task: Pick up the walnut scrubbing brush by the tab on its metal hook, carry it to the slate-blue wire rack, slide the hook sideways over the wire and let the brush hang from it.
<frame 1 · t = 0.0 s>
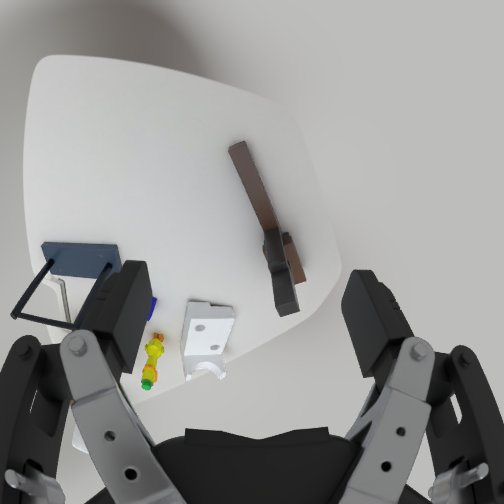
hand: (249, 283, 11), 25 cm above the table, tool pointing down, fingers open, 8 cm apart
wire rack: (81, 258, 39), on the table
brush: (271, 226, 37), on the table
toy figure: (158, 336, 50), on the table
cable holder: (140, 307, 46), on the table
bracket: (208, 327, 49), on the table
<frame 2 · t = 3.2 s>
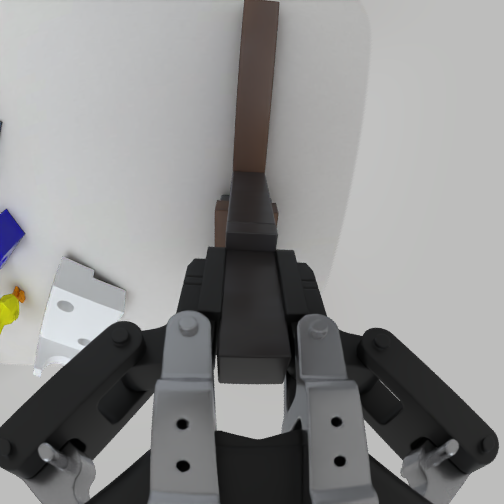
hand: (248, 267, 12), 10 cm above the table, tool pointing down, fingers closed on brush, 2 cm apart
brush: (247, 173, 19), on the table, touching gripper
toy figure: (20, 293, 26), on the table
cable holder: (4, 238, 21), on the table
bracket: (85, 307, 27), on the table
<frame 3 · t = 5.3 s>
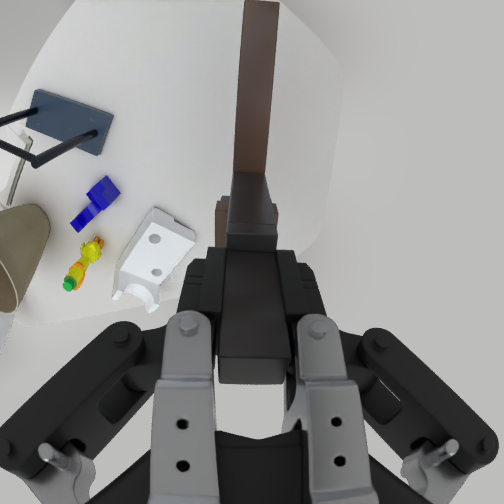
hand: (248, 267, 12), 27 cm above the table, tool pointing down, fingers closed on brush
cup: (15, 291, 48), on the table
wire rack: (67, 119, 30), on the table
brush: (247, 174, 19), point 17 cm above the table, touching gripper
plant pot: (35, 221, 38), on the table
toy figure: (98, 243, 42), on the table
cable holder: (97, 198, 37), on the table
bracket: (157, 248, 43), on the table
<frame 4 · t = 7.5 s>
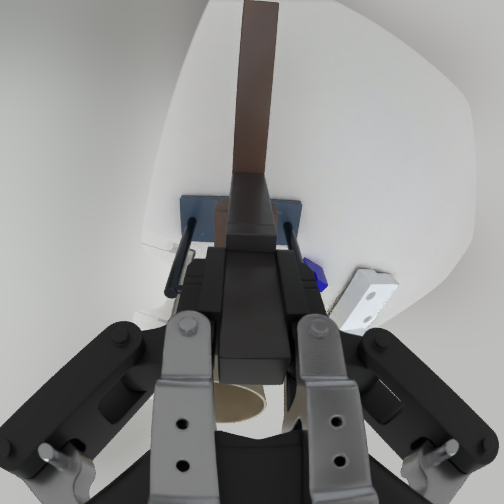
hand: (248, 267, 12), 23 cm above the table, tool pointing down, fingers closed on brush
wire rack: (240, 218, 36), on the table
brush: (247, 174, 19), point 13 cm above the table, touching gripper
plant pot: (217, 321, 47), on the table
cable holder: (296, 279, 42), on the table
bracket: (359, 298, 45), on the table
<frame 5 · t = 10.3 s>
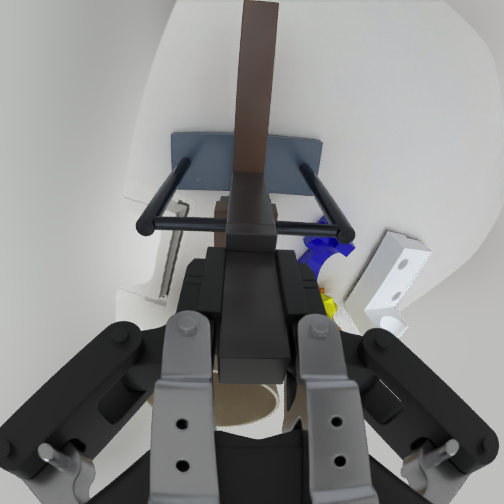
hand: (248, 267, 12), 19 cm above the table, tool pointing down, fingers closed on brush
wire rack: (245, 161, 28), on the table
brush: (247, 174, 19), point 10 cm above the table, touching gripper
plant pot: (216, 300, 39), on the table
toy figure: (316, 293, 39), on the table
cable holder: (313, 245, 34), on the table
bracket: (385, 272, 37), on the table
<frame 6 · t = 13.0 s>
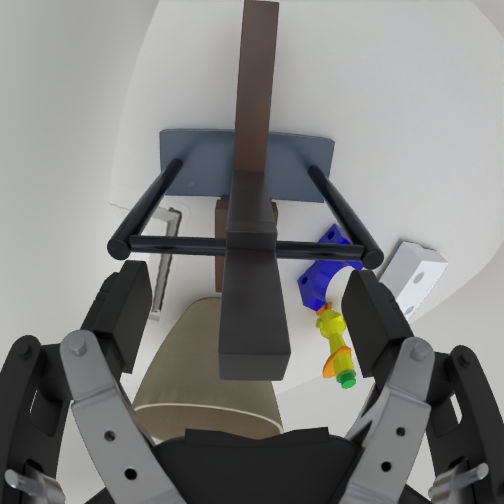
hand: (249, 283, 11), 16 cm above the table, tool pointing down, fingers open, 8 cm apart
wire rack: (245, 162, 24), on the table
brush: (247, 173, 19), point 6 cm above the table, touching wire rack
plant pot: (213, 316, 35), on the table
toy figure: (322, 307, 35), on the table
cable holder: (321, 256, 31), on the table
bracket: (397, 284, 34), on the table
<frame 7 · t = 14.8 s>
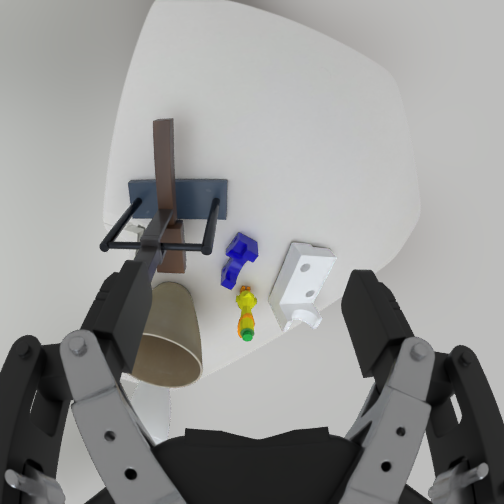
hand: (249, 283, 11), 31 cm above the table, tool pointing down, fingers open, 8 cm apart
cup: (158, 363, 64), on the table
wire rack: (177, 197, 41), on the table
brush: (169, 208, 36), point 6 cm above the table, touching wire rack
plant pot: (171, 295, 52), on the table
toy figure: (245, 290, 52), on the table
cable holder: (235, 254, 47), on the table
bracket: (301, 274, 50), on the table
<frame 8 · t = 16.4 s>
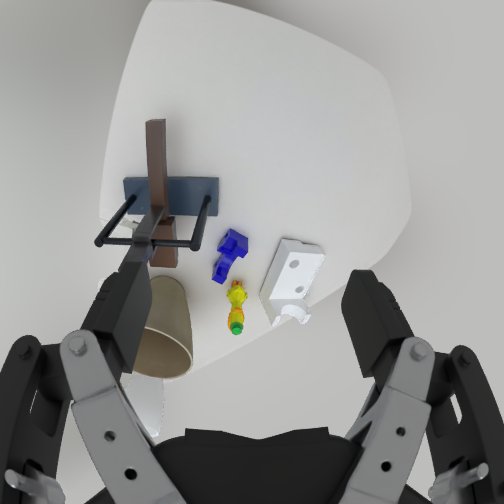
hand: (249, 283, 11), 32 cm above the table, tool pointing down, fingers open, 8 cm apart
cup: (153, 355, 66), on the table
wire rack: (171, 194, 42), on the table
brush: (162, 205, 37), point 6 cm above the table, touching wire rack
plant pot: (165, 289, 53), on the table
toy figure: (236, 285, 53), on the table
cable holder: (226, 249, 48), on the table
bracket: (291, 270, 51), on the table
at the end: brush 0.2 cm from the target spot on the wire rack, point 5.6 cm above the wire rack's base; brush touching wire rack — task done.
